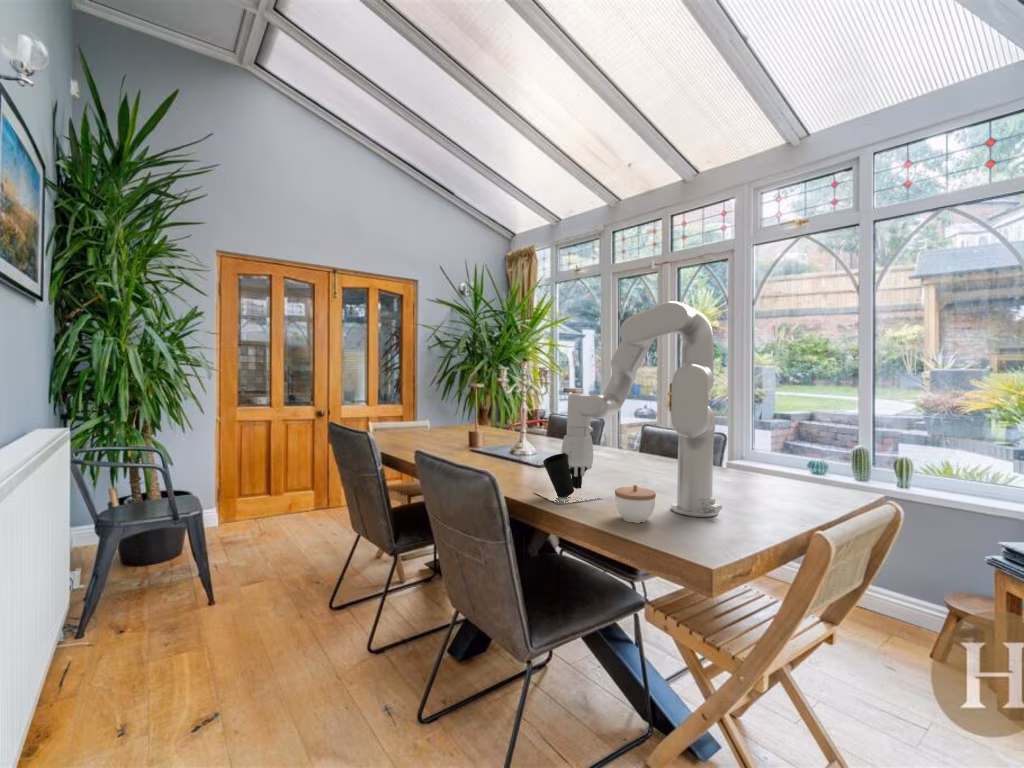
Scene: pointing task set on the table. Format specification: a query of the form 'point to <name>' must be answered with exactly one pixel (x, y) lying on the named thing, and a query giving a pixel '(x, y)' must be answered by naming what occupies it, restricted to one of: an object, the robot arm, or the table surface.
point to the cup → (559, 474)
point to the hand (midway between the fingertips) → (576, 487)
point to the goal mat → (562, 499)
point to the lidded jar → (635, 503)
